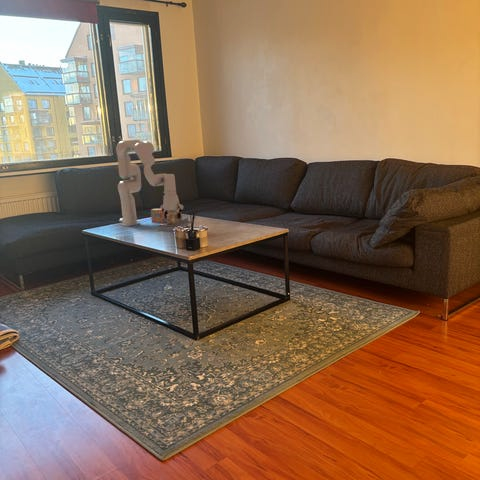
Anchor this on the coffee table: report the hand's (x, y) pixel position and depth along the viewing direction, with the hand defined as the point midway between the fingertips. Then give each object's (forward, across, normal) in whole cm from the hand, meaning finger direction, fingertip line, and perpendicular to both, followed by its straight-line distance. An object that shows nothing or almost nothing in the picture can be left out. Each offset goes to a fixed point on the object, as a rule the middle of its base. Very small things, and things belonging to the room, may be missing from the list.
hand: (172, 218), depth 327 cm
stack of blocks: (+7, -18, +21) cm, 28 cm away
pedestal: (+4, 0, 0) cm, 4 cm away
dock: (+7, 0, 0) cm, 7 cm away
